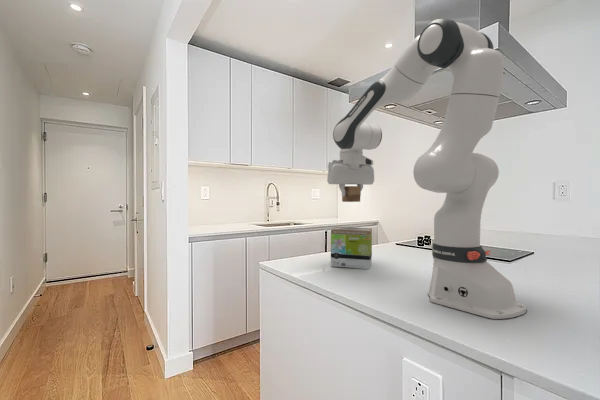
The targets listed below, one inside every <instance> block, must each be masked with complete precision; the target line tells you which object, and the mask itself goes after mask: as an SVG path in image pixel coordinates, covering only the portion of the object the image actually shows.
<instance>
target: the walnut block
mask: <svg viewBox="0 0 600 400" xmlns="http://www.w3.org/2000/svg"><path fill="white" fill-rule="evenodd" d="M344 189H345V191H346V192H347V196H342V195H341V201H342V202H343V203H344V202H345V203H354V202H355V203H357V202H359V203H361V196H360V186H357V185H347V186H346V185H345V187H344Z"/></svg>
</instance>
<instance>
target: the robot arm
mask: <svg viewBox="0 0 600 400" xmlns="http://www.w3.org/2000/svg"><path fill="white" fill-rule="evenodd" d="M504 65H505V58H504V56H503V54H502V53H501V52H500V51H498V50H496V49H494V44H493V41H492V40H491V38H490V37H489V36H488V35H487V34H485V33H484V32H480V31H479V30H477V29H476V28H473V27H472V26H471V25H468V24H466V23H462V22H459V21H455V20H454V19H451V18H437V19H434V20H432V21H431V22H429V23H428V24H427V25H426V26H425V27H424V28H423V29H422V31H421V33H420V34H418V35H417V36H416V37H415V38H414V39H412V41H411V42H410V43H409V44H408V45H407V47H406V48H405V49H404V50H403V51H402V53H401V54H400V56H399V57H398V58H397V60H396V61H395V63H394V64H393V66H392V67H391V68H390V70H389V71H388V72H386V74H385V75H383V76H382V77H381V78H380V79H378V80H377V81H375V82H373V83H372V84H371V85H370V86H369V87H368V88H367V89H366V90H365V92H364V93H363V94H362V96H361V97H360V98H359V99H358V100H357V101H356V103H355V104H354V105H353V106H352V108H351V109H350V110H349V111H348V112H347V113H346V115H345V116H343V118H342V119H340V120H339V121H338V122H337V123H336V124H335V127H333V132H332V139H333V140H334V141H333V142H334V143H335V145H336V146H337V147H338V148H339V149H340V150H339V159H332V160H330V161H329V162H328V164H327V165H328V166H327V167H328V168H327V169H328V170H327V177H326V178H327V180H326V181H327V183H328V185H338V188H339V190H340V192H341V197H342V196H347V192H346V191H345V189H344V187H345V186H346V185H354V186H360V197H361V196H362V195H361V194H362V191H363V189H364V186H365V185H369V186H370V185H373V184H374V182H375V169H374V167H373V166H374V160H372V159H370V158H369V157H367V156H365V155H363V150H374V149H376V148H377V147H379V146H380V144H381V142H382V139H383V132H382V129H381V127H380V126H379V125H378V124H376V123H372V122H367V121H366V120H367V119H368V118H369V117H370V115H371V114H372V113H373V112H374V111H375V110H376V109H378V108H380V107H382V106H385V105H389V104H394V103H403V102H406V101H408V100H411V99H412V98H413V97H414V96H415V95H417V94H418V93H419V92H420V90H421V89H422V88H423V87H424V85H425V84H426V83H427V81H428V80H429V78H430V77H431V76H432V74H433V73H435V71H437V70H438V69H442V70H444V71H446V72H451V74H452V76H453V83H452V86H451V90H450V96H449V100H448V104H447V109H446V112H445V117H444V120H443V123H442V125H441V129H440V131H439V133H438V135H437V136H436V138H435V140H434V142H433V143H432V145H431V146H430V148H429V149H427V150H426V151H424V153H423V154H421V155H420V156H419V157H418V158H417V160H416V161H415V163H414V166H413V172H412V173H413V179H414V181H415V183H416V185H417V186H418V187H420V188H421V189H423V190H426V191H429V192H433V193H436V194H437V193H439V194H446V195H445V199H444V200H443V201H444V202H443V204H442V206H441V207H440V208H439V209H438V210H437V211H436V212H435V214H434V217H433V243H432V245H431V246H432V247H431V250H432V251H431V252H432V253H431V254H432V258H433V263H432V265H433V266H432V274H431V280H430V283H429V284H430V285H429V288H428V291H427V295H428V296H429V297H430V298H429V301H430V302H431V303H432V304H433V303H434V304H437V305H441V306H445V307H448V308H452V309H456V310H459V311H463V312H466V313H470V314H473V315H477V316H480V317H483V318H488V319H494V320H498V319H499V320H502V319H504V320H505V319H511V318H515V317H519V316H522V315H524V314H525V313H526V312H527V305H526V304H525V303H523V302H519V301H517V300H516V295H515V290H514V287H513V283H512V282H511V281H510V280H509V279H508V278H507V277H505V276H504V275H503V274H502V273H501V272H499V270H497V269H496V268H495V267H494V266H492V264H491V263H489V262H488V261H487V260H488V259H487V256H491V252H492V251H491V250H484V248H483V247H482V245H481V218H482V213H483V207H484V204H485V202H486V197H487V195H488V194H489V191H490V189H491V188H492V187H493V186H494V185H495V183H496V182H497V181H498V178H499V173H500V171H499V166H498V164H497V163H496V161H495V160H494V159H492V158H490V157H488V156H487V155H484V154H481V153H479V152H474V151H475V148H476V147H477V145H478V143H479V142H480V141H481V139H482V138H484V137H485V136H486V135H488V134H489V132H490V131H491V130H492V128H493V123H494V119H495V116H496V112H497V109H498V104H499V101H500V97H501V96H500V95H501V91H502V87H503V81H504V67H505V66H504Z"/></svg>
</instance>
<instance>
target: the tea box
mask: <svg viewBox="0 0 600 400" xmlns="http://www.w3.org/2000/svg"><path fill="white" fill-rule="evenodd" d="M372 237H373V228H372V227H370V228H369V227H350V226H348V227H347V226H335V227H333V228H331V230H330V268H332V267H334V268H335V267H336V268H337V267H339V268H349V269H359V270H361V269H362V270H370V268H371V265H372V257H373V255H372V254H373V249H372V248H373V247H372V246H373V238H372Z"/></svg>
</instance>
